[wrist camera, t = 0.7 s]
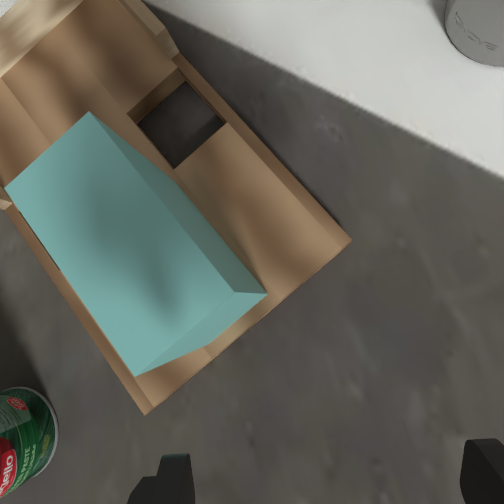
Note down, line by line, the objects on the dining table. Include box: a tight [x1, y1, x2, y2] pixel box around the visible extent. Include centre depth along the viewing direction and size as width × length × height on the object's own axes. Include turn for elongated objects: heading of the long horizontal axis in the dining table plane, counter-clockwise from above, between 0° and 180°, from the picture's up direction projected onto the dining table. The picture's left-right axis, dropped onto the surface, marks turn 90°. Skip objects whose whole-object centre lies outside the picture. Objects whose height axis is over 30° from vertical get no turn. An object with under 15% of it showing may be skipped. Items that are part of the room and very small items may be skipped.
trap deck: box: [0, 0, 352, 415], centre depth 31 cm, size 21×34×5 cm, turn 40°
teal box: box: [4, 111, 267, 377], centre depth 24 cm, size 6×12×12 cm, turn 40°
